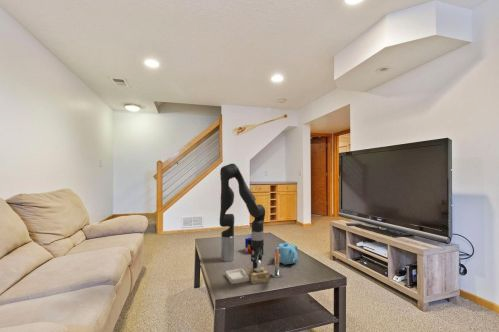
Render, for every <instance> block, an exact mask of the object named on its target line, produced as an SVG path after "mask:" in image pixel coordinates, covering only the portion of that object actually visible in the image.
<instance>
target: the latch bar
mask: <svg viewBox="0 0 499 332" xmlns="http://www.w3.org/2000/svg"><path fill="white" fill-rule="evenodd" d="M275 249H276V253H275V252H274V253H273V257H275V259H274V266H275V265H279V266H280V262H279V257H280V254H279V248H277V247H275Z"/></svg>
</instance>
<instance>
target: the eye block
mask: <svg viewBox="0 0 499 332" xmlns="http://www.w3.org/2000/svg"><path fill="white" fill-rule="evenodd" d="M246 273H247V274H248V276H249V277H250V281H249V282H251V284H253V285H256V284H261V283H262V284H264V283H266V282H267V283H268V282H270V272H269V271H268V270H267V269H266V268H265V267H264V266H262V267H261V272H260V273H255V272H254V268H253V267H251V268H249V267H248V268H247V269H246Z"/></svg>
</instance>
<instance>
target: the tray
mask: <svg viewBox="0 0 499 332" xmlns="http://www.w3.org/2000/svg"><path fill="white" fill-rule="evenodd" d="M225 277H226V279H228V281H229V282H230V284H231V285H235V284H240V283H241V282H242V283H247V282H251V281H250V277H249V276H248V274H247V271H245V270H244V269H243V268H237V269H231V270H226V271H225ZM246 281H247V282H246Z"/></svg>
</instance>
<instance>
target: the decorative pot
mask: <svg viewBox="0 0 499 332" xmlns="http://www.w3.org/2000/svg"><path fill="white" fill-rule="evenodd" d="M276 248H279V254H280V257H279V264H281V265H283V266H287V265H291V264H292V265H293V263H294V264H296V263H297V261H298V260H299V259H298V258H299V257H298V256H299V255H298V246H297V245H296V244H290V243H289V242H283V243H279V244H278V245H277V247H276ZM276 248H275V249H274V254H275V253H276ZM273 257H274V256H273ZM273 259H274V260H275V257H274V258H273Z"/></svg>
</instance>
